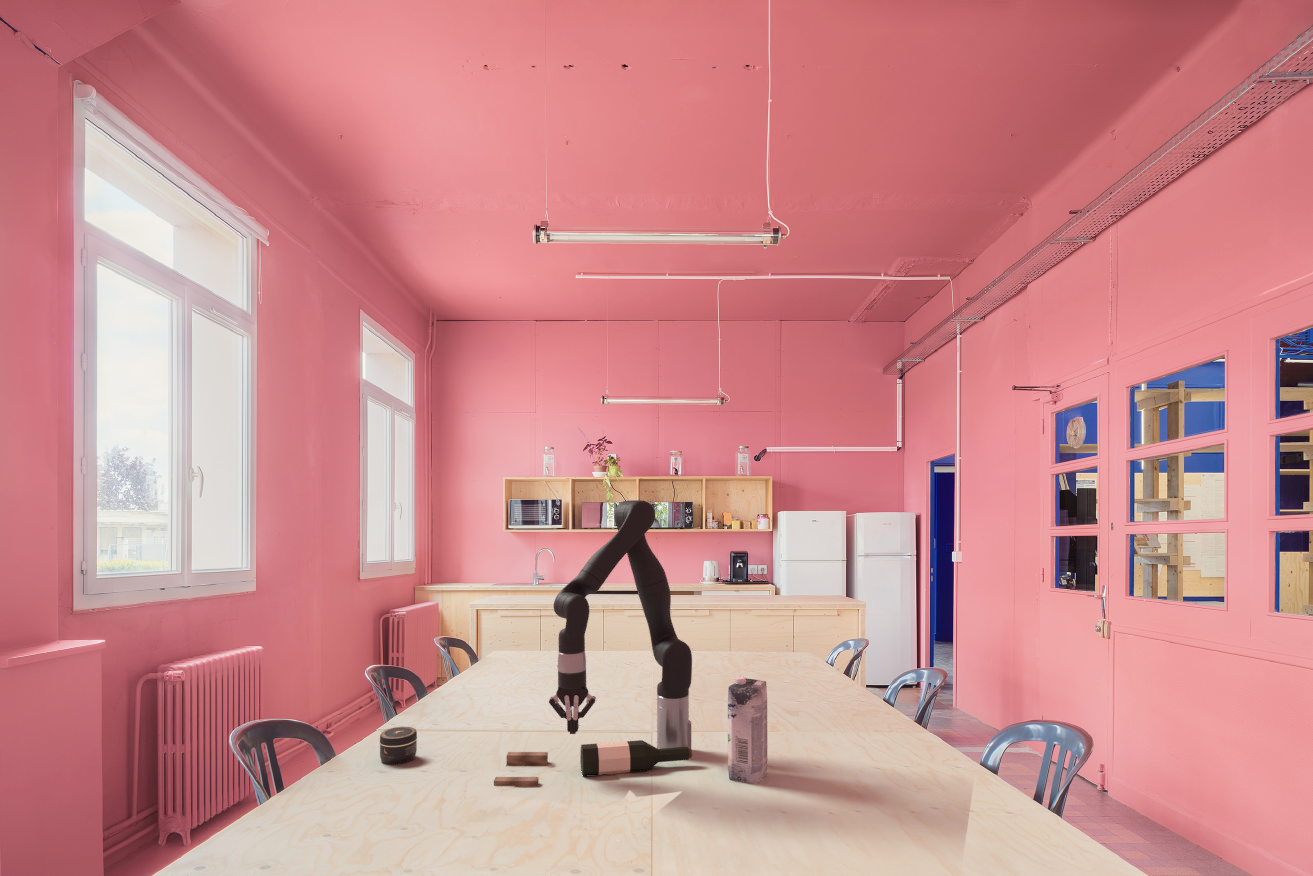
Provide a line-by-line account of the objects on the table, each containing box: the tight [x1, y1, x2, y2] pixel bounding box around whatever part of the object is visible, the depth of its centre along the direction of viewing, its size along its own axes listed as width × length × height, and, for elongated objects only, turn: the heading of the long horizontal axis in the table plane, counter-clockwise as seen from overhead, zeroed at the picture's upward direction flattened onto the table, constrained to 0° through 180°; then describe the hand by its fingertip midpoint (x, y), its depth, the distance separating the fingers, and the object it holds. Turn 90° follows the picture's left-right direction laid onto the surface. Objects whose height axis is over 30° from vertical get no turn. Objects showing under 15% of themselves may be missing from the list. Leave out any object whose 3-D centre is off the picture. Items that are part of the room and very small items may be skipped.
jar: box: [379, 726, 418, 765], centre depth 213 cm, size 10×10×8 cm
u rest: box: [493, 751, 549, 787], centre depth 201 cm, size 11×19×3 cm, turn 0°
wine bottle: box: [579, 739, 693, 777], centre depth 205 cm, size 8×8×30 cm
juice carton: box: [727, 675, 768, 785], centre depth 198 cm, size 9×10×27 cm
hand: (572, 733), depth 202 cm, fingers closed
